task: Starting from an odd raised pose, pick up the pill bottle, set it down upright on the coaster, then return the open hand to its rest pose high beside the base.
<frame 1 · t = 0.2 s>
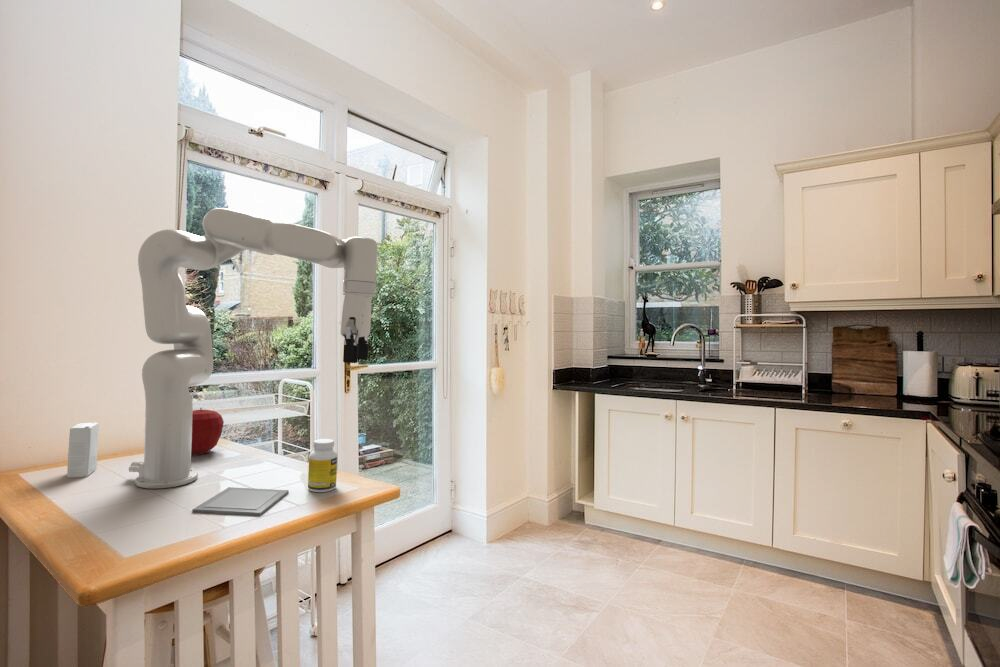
hand: (355, 360, 122), 31 cm above the table, fingers open, 9 cm apart
skincare box: (82, 474, 125), on the table
apple: (199, 453, 148), on the table
coaster: (243, 501, 112), on the table
pill bottle: (322, 489, 123), on the table
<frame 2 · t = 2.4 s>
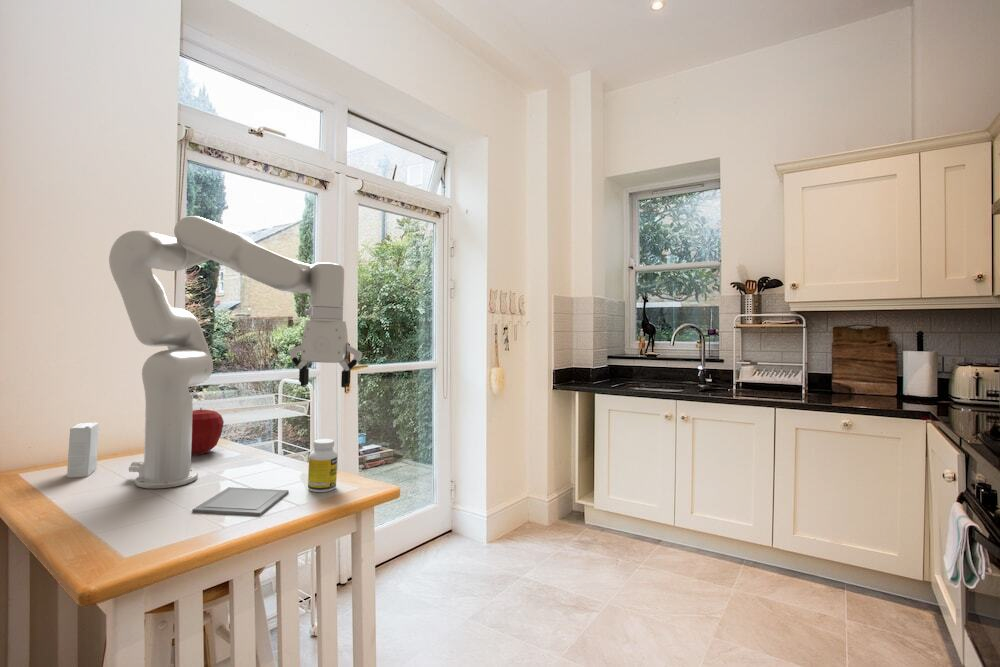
hand: (324, 386, 122), 25 cm above the table, fingers open, 9 cm apart
nothing on the table moved.
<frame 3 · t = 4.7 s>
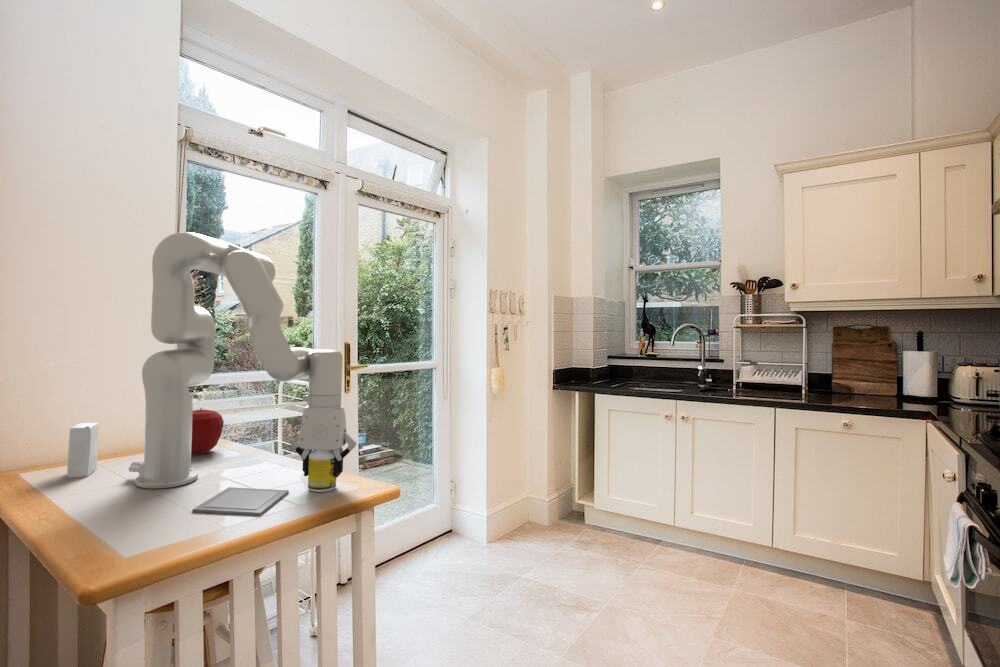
hand: (322, 474, 123), 3 cm above the table, fingers closed on pill bottle, 6 cm apart
pill bottle: (322, 489, 123), on the table, touching gripper
everything else where it was.
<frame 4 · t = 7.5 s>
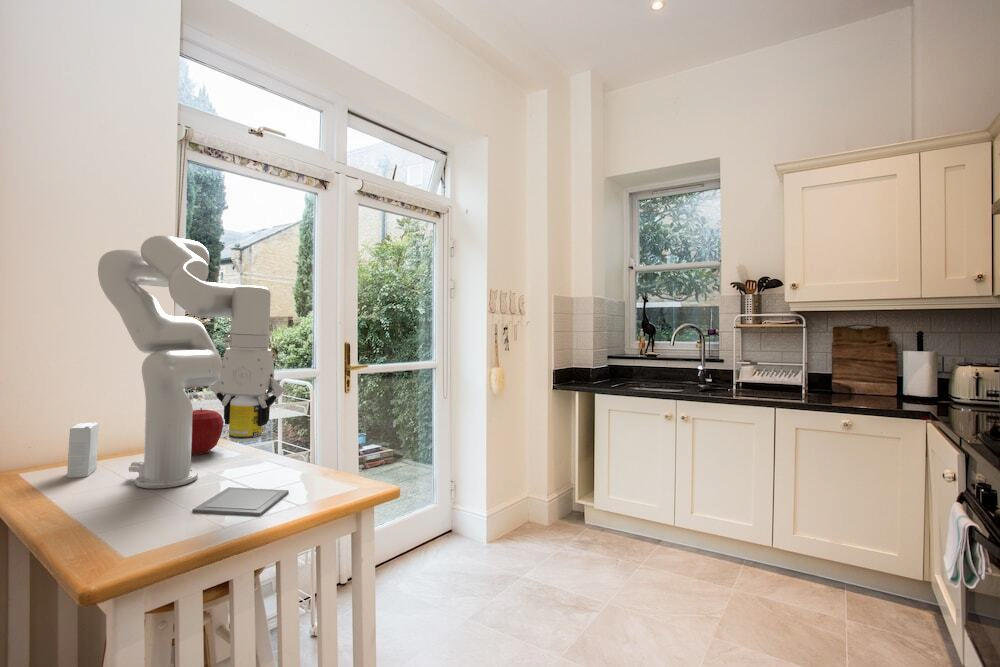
hand: (246, 423, 111), 17 cm above the table, fingers closed on pill bottle, 6 cm apart
pill bottle: (245, 439, 111), point 14 cm above the table, touching gripper
everything else where it was.
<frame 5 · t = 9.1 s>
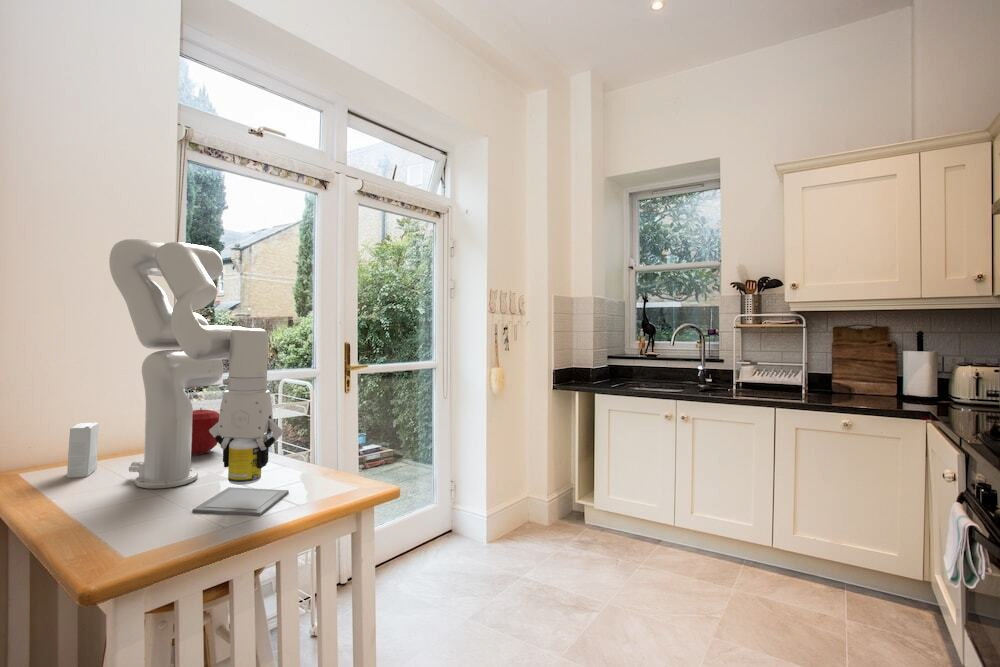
hand: (245, 465, 111), 8 cm above the table, fingers closed on pill bottle, 6 cm apart
pill bottle: (244, 482, 111), point 4 cm above the table, touching gripper
everything else where it was.
when the fingers open (5 cm above the table, at t = 10.2 s): pill bottle stays where it is, resting on coaster.
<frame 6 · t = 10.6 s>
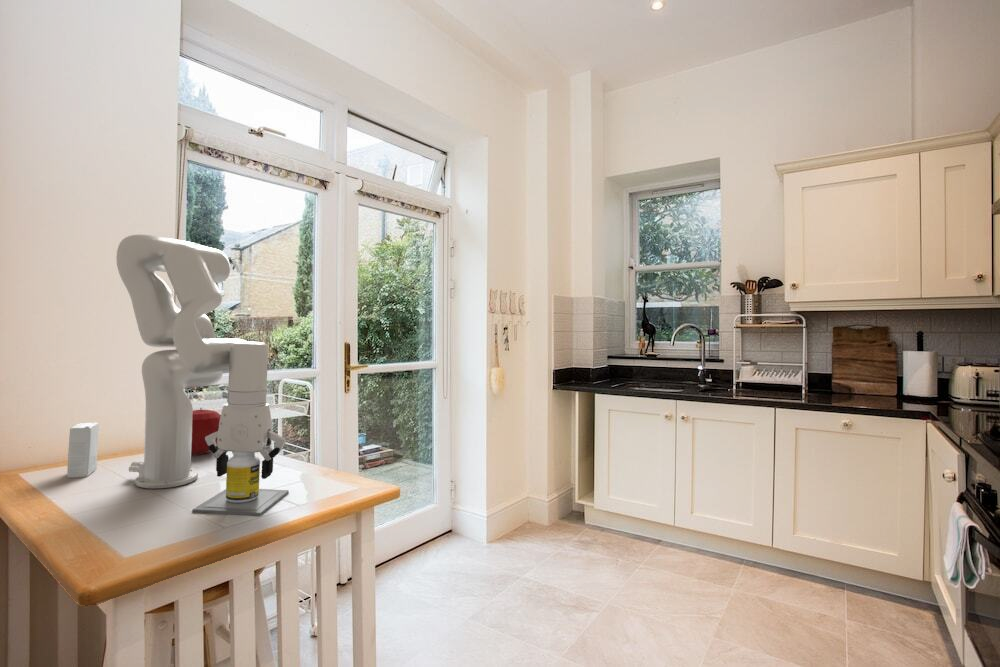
hand: (244, 475, 112), 6 cm above the table, fingers open, 9 cm apart
pill bottle: (242, 499, 112), point 1 cm above the table, touching coaster
everything else where it was.
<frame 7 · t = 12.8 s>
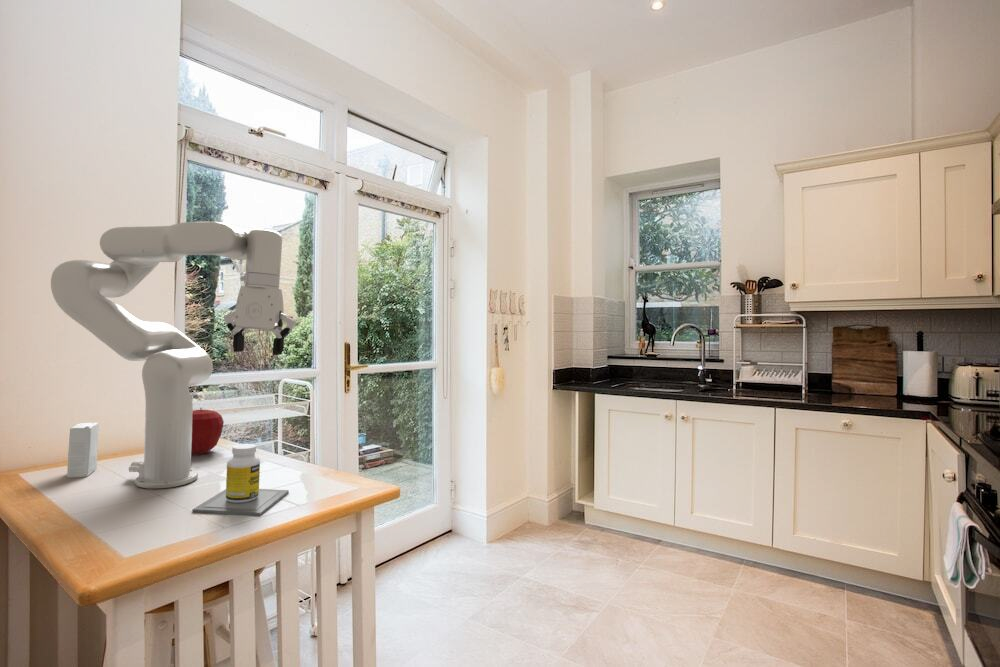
hand: (257, 353, 122), 32 cm above the table, fingers open, 9 cm apart
nothing on the table moved.
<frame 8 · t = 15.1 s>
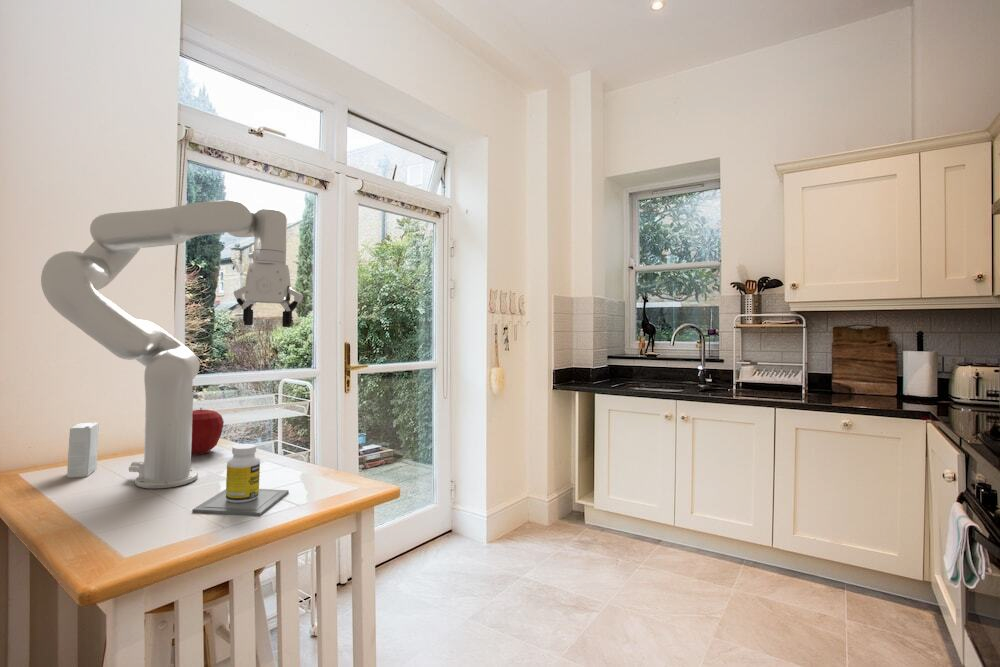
hand: (267, 326, 130), 38 cm above the table, fingers open, 9 cm apart
nothing on the table moved.
at the end: pill bottle inside the target area on the coaster (0.2 cm from its centre), point 0.5 cm above the coaster's base; pill bottle tilted 0°; the gripper is holding nothing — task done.
